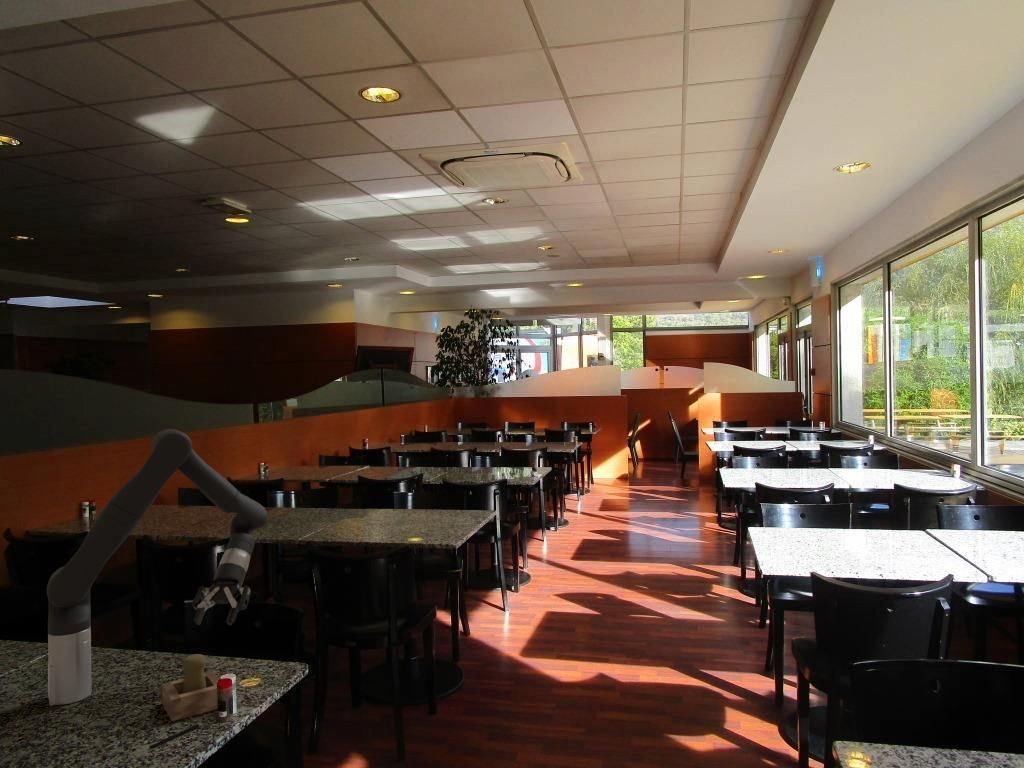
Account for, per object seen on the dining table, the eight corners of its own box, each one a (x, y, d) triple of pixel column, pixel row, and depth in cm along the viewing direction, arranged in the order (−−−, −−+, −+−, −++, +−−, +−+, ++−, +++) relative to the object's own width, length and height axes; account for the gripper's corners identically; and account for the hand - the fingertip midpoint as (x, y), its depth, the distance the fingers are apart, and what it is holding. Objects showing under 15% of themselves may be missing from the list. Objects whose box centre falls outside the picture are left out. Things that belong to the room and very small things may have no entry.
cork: (197, 706, 168) (196, 661, 168) (175, 705, 169) (175, 659, 169) (213, 696, 174) (212, 652, 174) (192, 694, 175) (191, 650, 175)
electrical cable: (200, 726, 161) (200, 721, 161) (202, 727, 160) (202, 722, 160) (149, 749, 150) (149, 744, 150) (151, 750, 150) (151, 746, 150)
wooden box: (171, 721, 163) (171, 699, 163) (162, 703, 172) (162, 683, 172) (225, 706, 170) (225, 686, 170) (213, 690, 179) (213, 671, 180)
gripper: (202, 561, 191) (180, 617, 179) (253, 561, 190) (234, 616, 178) (212, 576, 196) (192, 630, 185) (261, 575, 195) (244, 630, 184)
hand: (212, 623), depth 181 cm, fingers open, 8 cm apart
